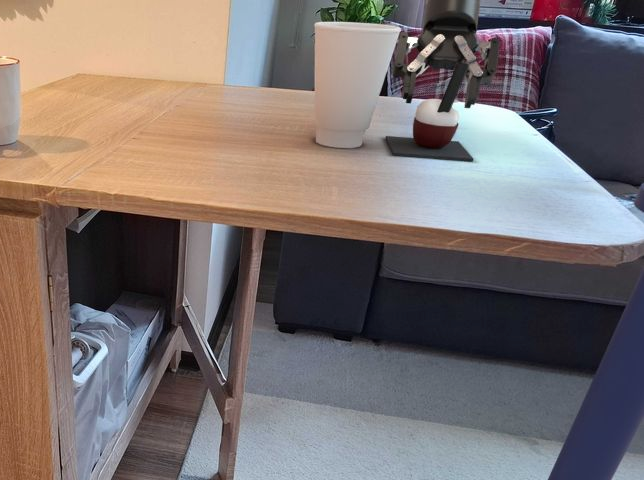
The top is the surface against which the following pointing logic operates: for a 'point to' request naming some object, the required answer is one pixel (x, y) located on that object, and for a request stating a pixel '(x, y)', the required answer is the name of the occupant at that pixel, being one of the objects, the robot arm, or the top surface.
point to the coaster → (427, 149)
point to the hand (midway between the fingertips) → (438, 102)
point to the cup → (349, 78)
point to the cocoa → (439, 114)
